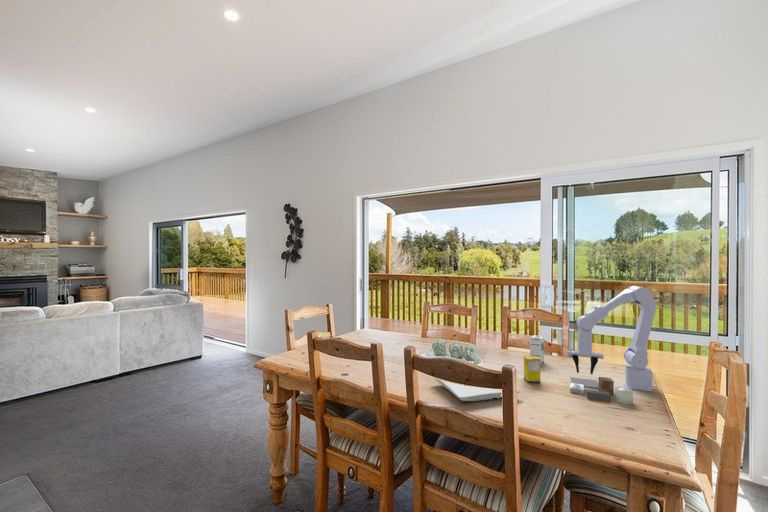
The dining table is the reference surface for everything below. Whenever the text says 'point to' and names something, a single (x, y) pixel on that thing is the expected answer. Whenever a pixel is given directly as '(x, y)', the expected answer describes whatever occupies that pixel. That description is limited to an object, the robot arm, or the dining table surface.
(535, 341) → the syrup box
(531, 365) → the supplement box
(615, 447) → the dining table surface
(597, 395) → the charcoal rubber bar
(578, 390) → the grey topped wooden block
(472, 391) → the square plate
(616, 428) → the dining table surface
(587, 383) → the slate coaster
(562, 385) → the dining table surface
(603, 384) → the walnut block
